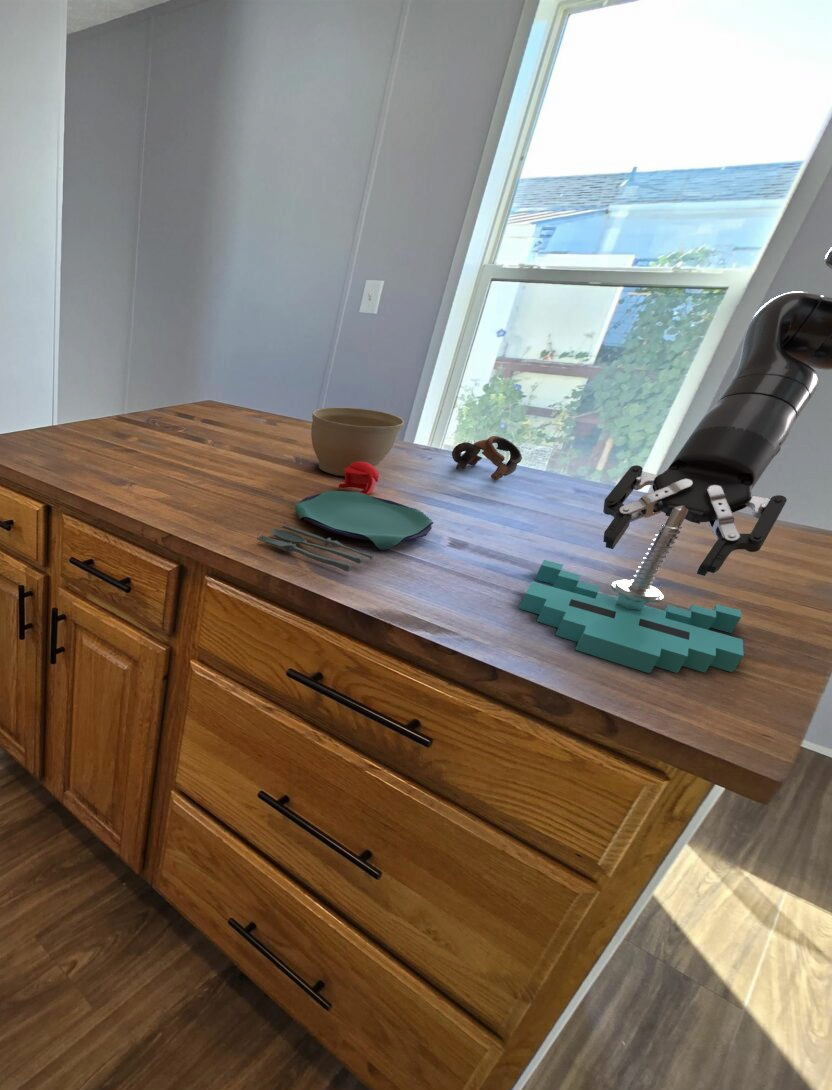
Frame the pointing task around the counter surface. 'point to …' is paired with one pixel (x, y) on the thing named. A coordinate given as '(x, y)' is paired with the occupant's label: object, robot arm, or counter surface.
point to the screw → (650, 566)
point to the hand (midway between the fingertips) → (653, 558)
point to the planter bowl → (352, 437)
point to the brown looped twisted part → (488, 455)
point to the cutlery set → (352, 524)
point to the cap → (361, 477)
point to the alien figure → (633, 626)
